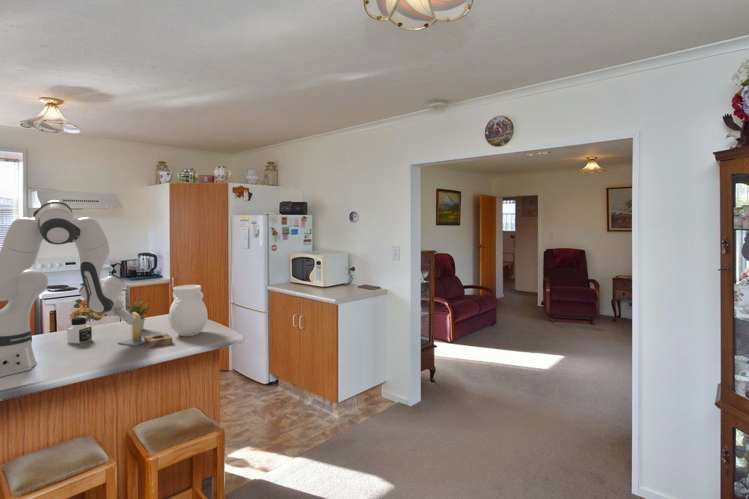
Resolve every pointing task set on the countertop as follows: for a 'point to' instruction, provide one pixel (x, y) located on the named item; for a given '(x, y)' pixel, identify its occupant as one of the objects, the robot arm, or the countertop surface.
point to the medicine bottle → (79, 331)
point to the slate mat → (130, 343)
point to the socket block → (158, 340)
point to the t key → (136, 328)
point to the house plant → (137, 310)
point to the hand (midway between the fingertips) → (137, 324)
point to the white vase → (188, 310)
